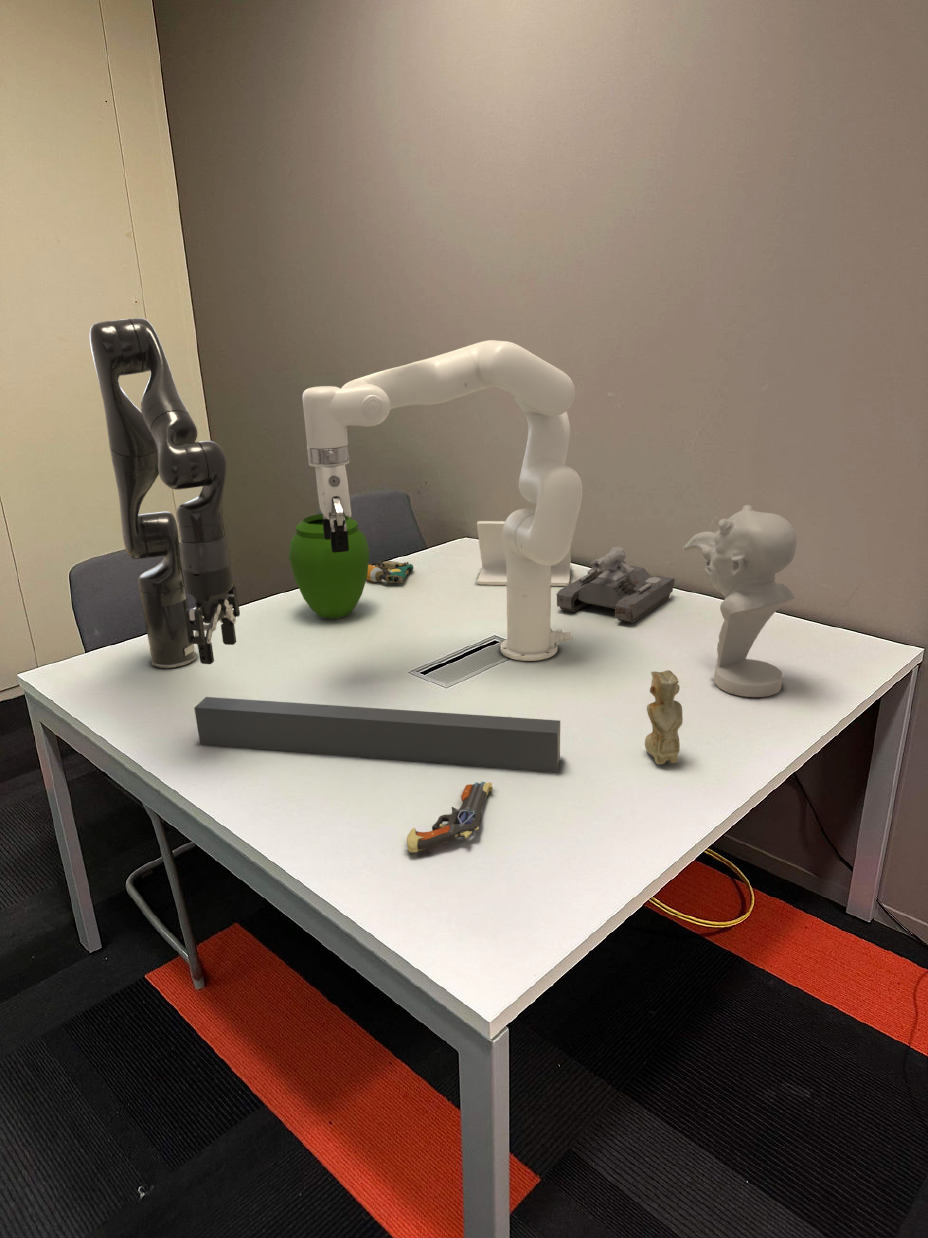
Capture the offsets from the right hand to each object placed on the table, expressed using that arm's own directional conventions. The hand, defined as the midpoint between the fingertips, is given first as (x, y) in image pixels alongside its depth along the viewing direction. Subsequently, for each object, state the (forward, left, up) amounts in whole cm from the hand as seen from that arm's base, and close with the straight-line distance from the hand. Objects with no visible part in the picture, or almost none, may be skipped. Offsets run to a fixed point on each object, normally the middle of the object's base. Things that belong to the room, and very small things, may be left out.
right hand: (336, 544), depth 164 cm
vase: (-1, -43, -30) cm, 52 cm away
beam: (-2, +29, -30) cm, 41 cm away
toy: (-70, -29, -30) cm, 81 cm away
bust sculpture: (-74, +19, -30) cm, 82 cm away
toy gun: (-10, +53, -30) cm, 62 cm away
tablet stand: (-55, -59, -30) cm, 86 cm away
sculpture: (-48, +44, -30) cm, 72 cm away
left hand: (+23, +18, -13) cm, 32 cm away
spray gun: (-18, -69, -30) cm, 77 cm away
